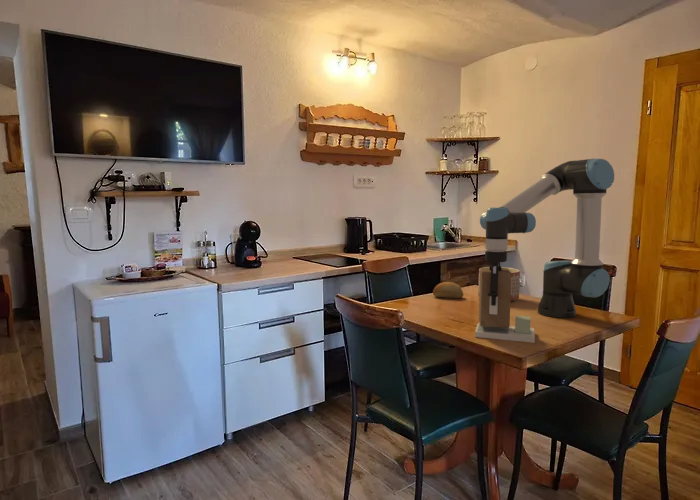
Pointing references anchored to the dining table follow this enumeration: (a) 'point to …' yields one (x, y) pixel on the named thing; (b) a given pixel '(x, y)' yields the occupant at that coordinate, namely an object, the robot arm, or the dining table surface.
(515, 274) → the planter
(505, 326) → the wooden block
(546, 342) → the dining table surface
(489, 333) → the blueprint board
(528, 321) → the sage cube
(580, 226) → the robot arm
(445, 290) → the bread roll
